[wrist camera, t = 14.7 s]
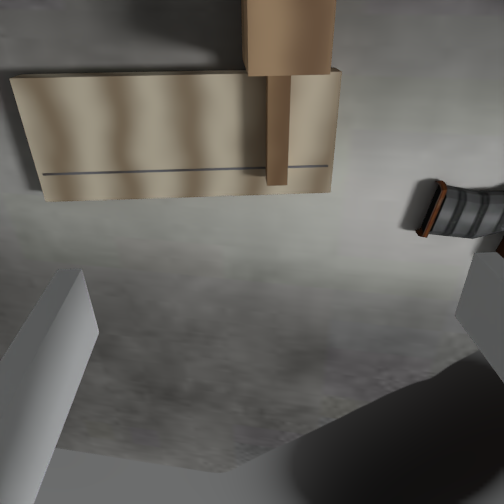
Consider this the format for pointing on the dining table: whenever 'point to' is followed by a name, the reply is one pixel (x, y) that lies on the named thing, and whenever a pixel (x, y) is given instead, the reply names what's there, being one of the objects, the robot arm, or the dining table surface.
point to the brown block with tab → (285, 62)
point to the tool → (464, 214)
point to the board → (172, 133)
